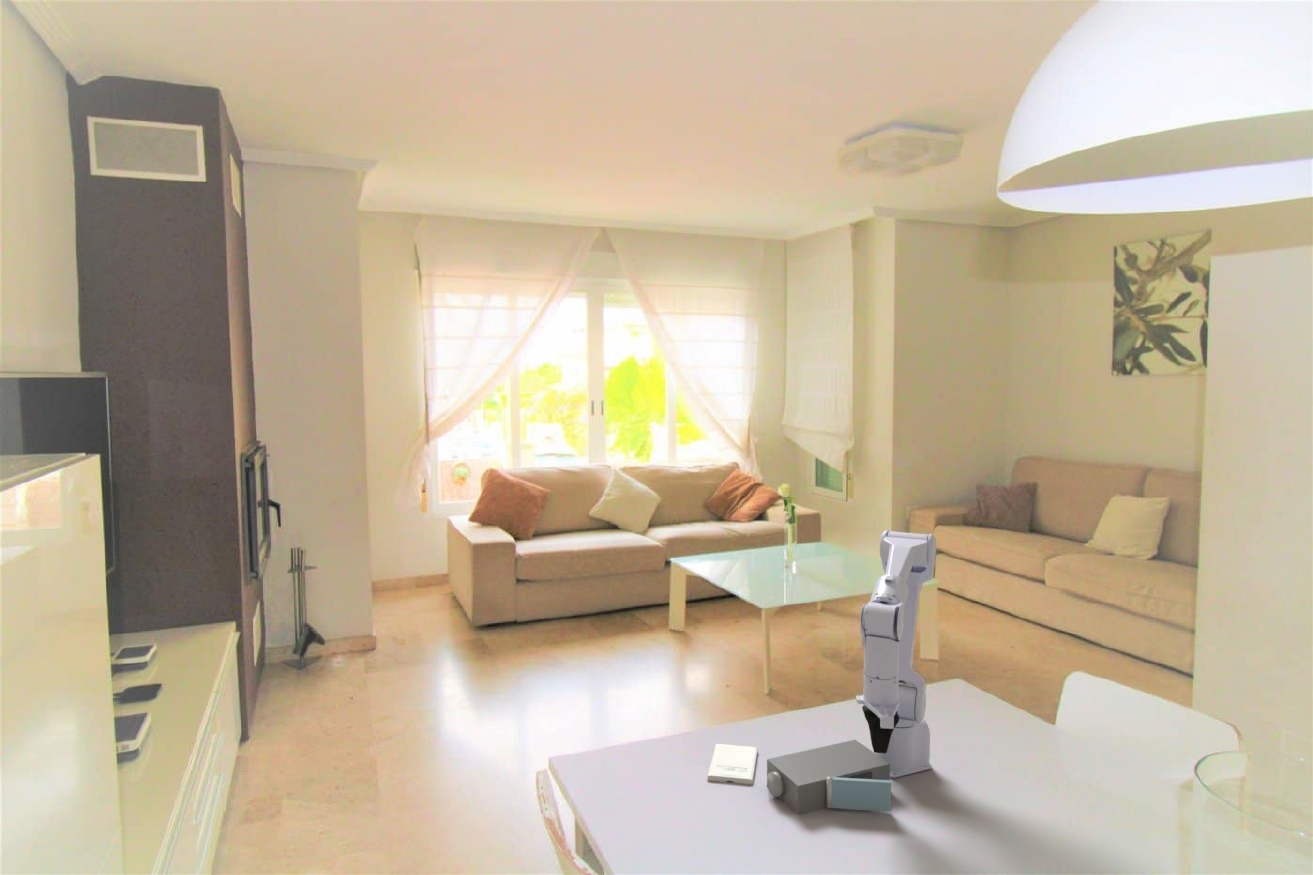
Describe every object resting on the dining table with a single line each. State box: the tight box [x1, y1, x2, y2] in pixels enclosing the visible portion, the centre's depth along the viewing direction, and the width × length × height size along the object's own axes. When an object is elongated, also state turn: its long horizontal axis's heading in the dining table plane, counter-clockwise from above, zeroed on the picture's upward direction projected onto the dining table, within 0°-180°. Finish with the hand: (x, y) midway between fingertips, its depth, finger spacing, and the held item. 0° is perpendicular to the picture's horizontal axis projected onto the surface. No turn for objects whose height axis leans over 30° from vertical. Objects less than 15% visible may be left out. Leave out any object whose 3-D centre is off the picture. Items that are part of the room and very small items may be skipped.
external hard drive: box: [707, 743, 759, 785], centre depth 149 cm, size 2×8×12 cm
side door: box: [826, 777, 892, 812], centre depth 133 cm, size 10×1×5 cm, turn 83°
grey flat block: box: [766, 739, 891, 815], centre depth 140 cm, size 20×10×5 cm, turn 113°
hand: (879, 751), depth 135 cm, fingers closed
